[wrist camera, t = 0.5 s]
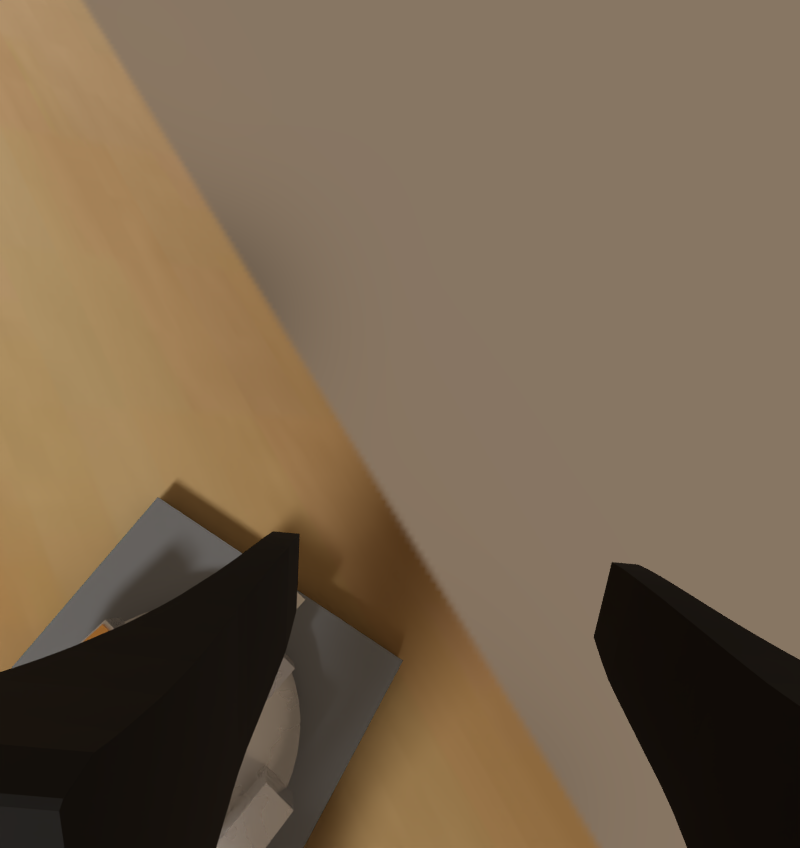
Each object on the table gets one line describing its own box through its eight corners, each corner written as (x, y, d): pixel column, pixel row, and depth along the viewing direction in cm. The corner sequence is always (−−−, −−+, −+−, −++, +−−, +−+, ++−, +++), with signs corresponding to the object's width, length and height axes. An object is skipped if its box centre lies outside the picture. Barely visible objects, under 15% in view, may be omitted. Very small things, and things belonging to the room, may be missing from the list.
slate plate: (211, 1005, 26) (207, 1031, 25) (-97, 806, 26) (-120, 820, 25) (397, 657, 34) (403, 661, 33) (162, 500, 34) (157, 496, 32)
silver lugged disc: (198, 942, 26) (182, 1014, 21) (-32, 793, 25) (-95, 836, 21) (348, 678, 31) (359, 692, 27) (162, 554, 31) (143, 548, 27)
